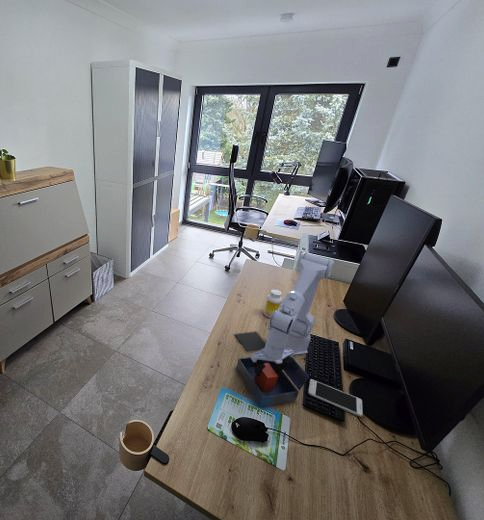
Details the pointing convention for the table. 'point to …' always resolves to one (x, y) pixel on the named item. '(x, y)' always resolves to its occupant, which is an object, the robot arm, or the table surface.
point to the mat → (251, 341)
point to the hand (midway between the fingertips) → (267, 372)
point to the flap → (296, 374)
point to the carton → (278, 396)
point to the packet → (267, 378)
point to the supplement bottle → (272, 302)
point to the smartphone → (336, 397)
